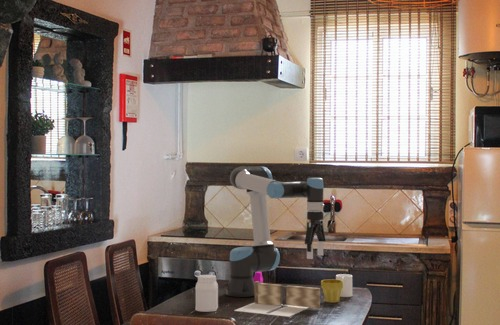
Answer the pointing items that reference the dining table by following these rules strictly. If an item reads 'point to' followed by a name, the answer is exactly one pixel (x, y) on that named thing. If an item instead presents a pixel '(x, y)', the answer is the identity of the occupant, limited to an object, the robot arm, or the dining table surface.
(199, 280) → the jar
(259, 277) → the toy block
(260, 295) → the fixed fence section
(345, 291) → the cup
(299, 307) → the card
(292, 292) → the wooden board
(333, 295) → the plant pot
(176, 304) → the dining table surface
